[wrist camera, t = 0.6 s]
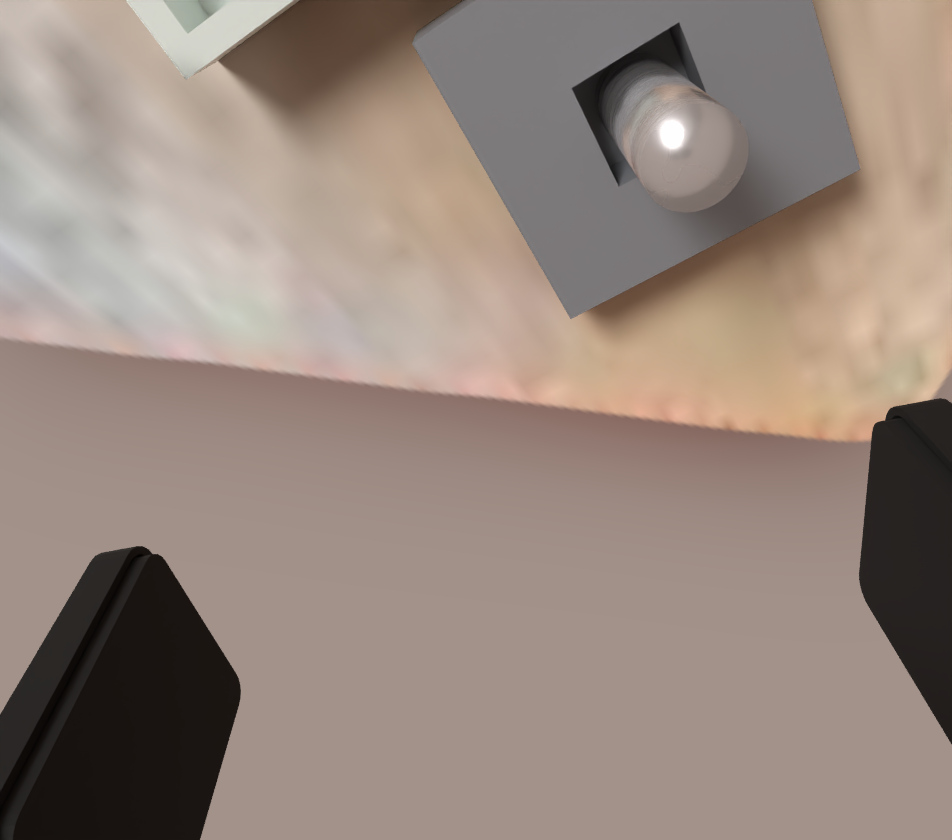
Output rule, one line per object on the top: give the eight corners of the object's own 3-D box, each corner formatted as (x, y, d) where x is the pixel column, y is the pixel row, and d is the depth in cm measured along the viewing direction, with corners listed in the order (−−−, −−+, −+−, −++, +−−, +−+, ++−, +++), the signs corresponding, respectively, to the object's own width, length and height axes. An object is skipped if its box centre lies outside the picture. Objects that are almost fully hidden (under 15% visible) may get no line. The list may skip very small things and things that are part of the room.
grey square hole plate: (726, -181, 24) (756, -192, 21) (827, 148, 30) (860, 169, 27) (416, 31, 27) (412, 43, 25) (562, 288, 33) (570, 319, 31)
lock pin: (655, 34, 27) (727, 80, 20) (685, 109, 28) (763, 178, 21) (581, 80, 28) (623, 140, 20) (614, 150, 29) (665, 231, 22)
